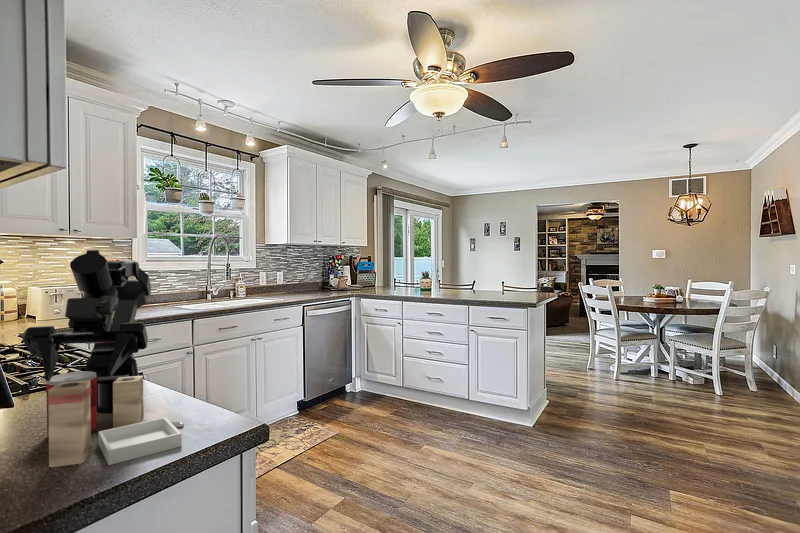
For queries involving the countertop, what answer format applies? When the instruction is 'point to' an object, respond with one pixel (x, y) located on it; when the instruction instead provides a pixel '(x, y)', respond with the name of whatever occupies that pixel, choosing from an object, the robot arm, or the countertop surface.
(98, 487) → the countertop surface
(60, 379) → the canned food
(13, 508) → the countertop surface
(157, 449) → the tray
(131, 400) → the block
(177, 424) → the pin gauge
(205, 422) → the countertop surface
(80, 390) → the block
